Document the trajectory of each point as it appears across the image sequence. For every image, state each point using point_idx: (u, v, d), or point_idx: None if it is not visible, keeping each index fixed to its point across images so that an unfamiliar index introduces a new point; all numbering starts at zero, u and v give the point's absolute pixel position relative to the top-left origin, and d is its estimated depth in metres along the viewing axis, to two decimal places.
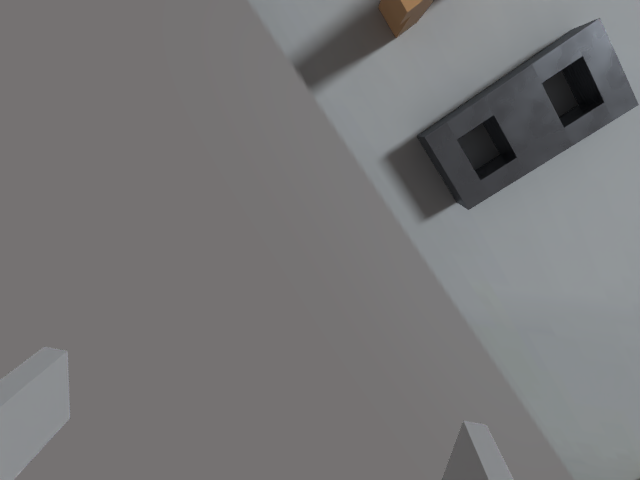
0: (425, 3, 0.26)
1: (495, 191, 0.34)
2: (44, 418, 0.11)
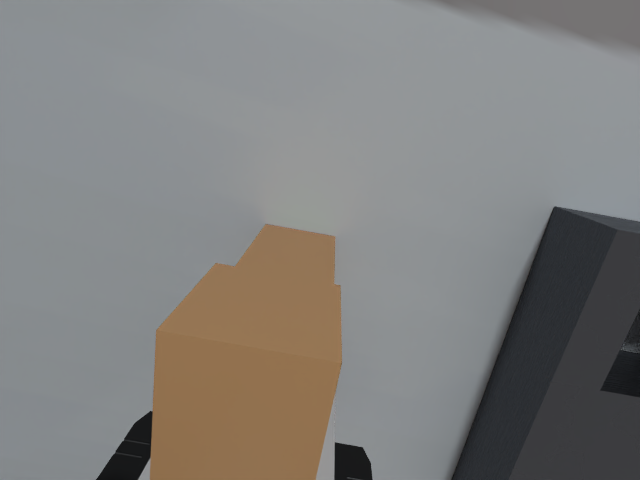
0: None
1: None
2: None
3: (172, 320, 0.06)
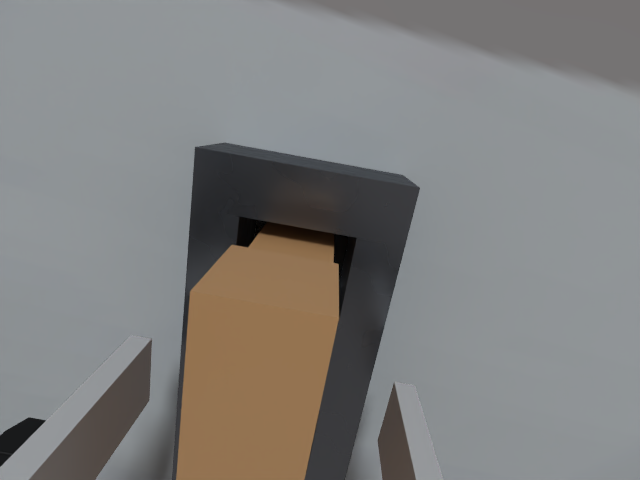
0: None
1: (344, 469, 0.17)
2: (134, 398, 0.12)
3: (201, 284, 0.08)
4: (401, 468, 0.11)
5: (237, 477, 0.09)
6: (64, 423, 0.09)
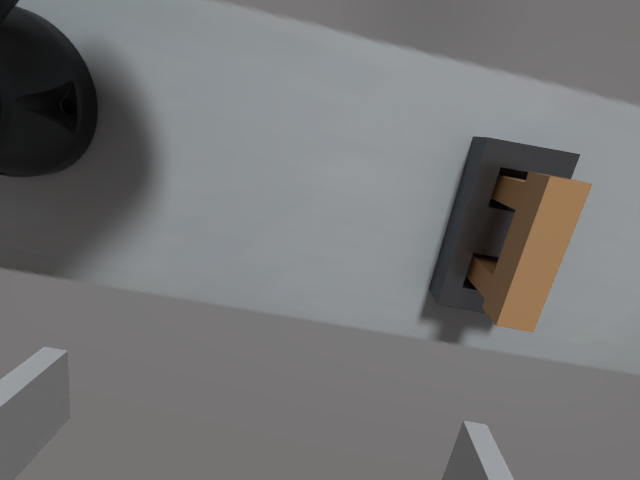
0: None
1: None
2: (44, 418, 0.11)
3: (549, 176, 0.26)
4: None
5: (546, 241, 0.27)
6: None
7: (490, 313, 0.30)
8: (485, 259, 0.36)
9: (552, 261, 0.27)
